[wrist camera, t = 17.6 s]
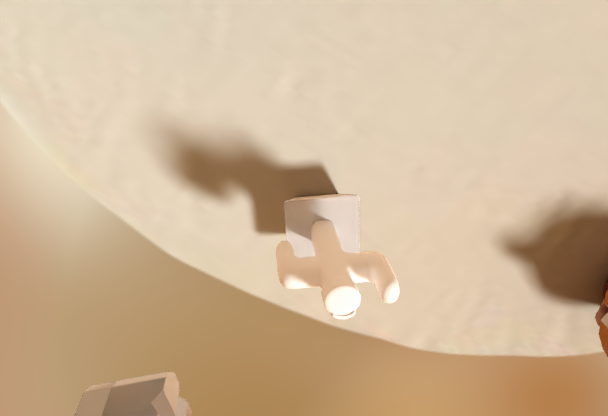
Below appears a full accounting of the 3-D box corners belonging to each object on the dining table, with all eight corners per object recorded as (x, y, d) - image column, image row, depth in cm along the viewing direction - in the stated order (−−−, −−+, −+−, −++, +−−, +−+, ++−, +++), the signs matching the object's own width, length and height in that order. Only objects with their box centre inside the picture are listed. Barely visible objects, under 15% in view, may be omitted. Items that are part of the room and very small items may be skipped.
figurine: (270, 186, 47) (277, 271, 33) (363, 178, 47) (406, 259, 34) (275, 247, 50) (284, 347, 37) (362, 240, 51) (401, 335, 37)
